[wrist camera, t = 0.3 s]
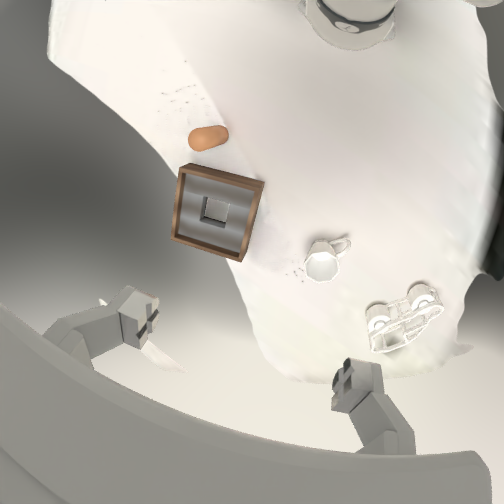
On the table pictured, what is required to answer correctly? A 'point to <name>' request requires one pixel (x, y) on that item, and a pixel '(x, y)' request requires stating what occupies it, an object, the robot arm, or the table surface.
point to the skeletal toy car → (402, 316)
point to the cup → (324, 260)
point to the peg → (207, 137)
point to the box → (207, 229)
